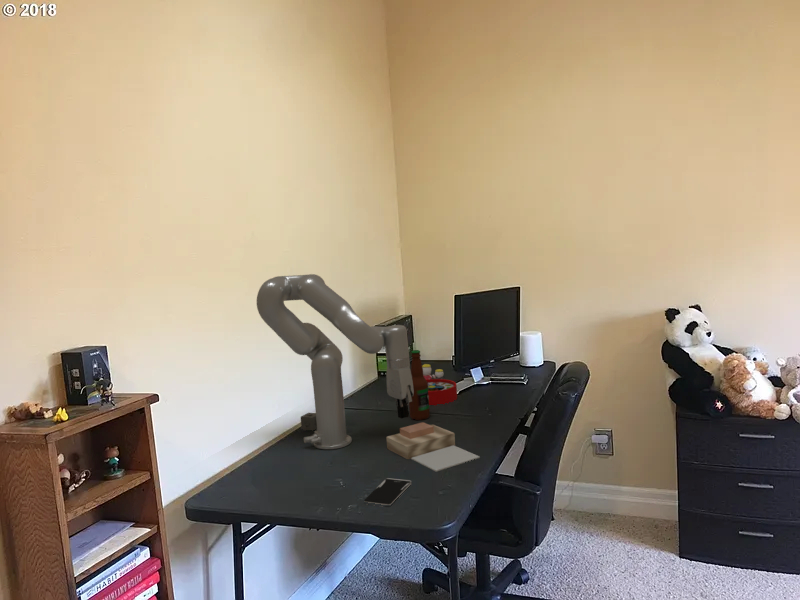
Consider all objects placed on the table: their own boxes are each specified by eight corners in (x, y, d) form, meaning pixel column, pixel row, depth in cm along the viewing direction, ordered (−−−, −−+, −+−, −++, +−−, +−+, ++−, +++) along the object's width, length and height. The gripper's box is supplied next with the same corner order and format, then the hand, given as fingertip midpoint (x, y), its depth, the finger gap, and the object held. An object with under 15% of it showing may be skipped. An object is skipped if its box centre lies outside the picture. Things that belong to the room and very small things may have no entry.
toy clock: (401, 391, 247) (413, 378, 266) (402, 406, 247) (414, 392, 266) (451, 391, 241) (460, 378, 261) (452, 406, 242) (460, 392, 261)
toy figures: (446, 381, 280) (445, 363, 279) (443, 384, 276) (442, 365, 275) (421, 380, 284) (420, 362, 283) (418, 383, 280) (416, 365, 279)
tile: (410, 439, 195) (409, 432, 195) (400, 434, 201) (399, 428, 200) (433, 432, 200) (433, 426, 200) (423, 428, 205) (422, 422, 205)
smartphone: (362, 501, 161) (386, 477, 174) (363, 506, 161) (387, 482, 175) (390, 504, 158) (412, 480, 171) (390, 509, 158) (412, 485, 172)
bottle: (426, 421, 225) (422, 352, 222) (407, 420, 228) (403, 352, 225) (432, 414, 232) (428, 348, 229) (413, 414, 235) (409, 348, 232)
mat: (436, 471, 178) (436, 470, 178) (411, 459, 189) (411, 457, 189) (479, 457, 187) (479, 456, 187) (453, 446, 198) (453, 445, 198)
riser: (407, 459, 189) (406, 446, 189) (387, 448, 200) (386, 436, 199) (455, 445, 199) (454, 433, 198) (433, 436, 209) (432, 424, 208)
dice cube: (301, 430, 225) (300, 416, 224) (309, 425, 229) (308, 412, 228) (313, 431, 222) (312, 417, 222) (321, 427, 227) (319, 413, 226)
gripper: (377, 362, 210) (382, 415, 212) (400, 368, 197) (406, 424, 199) (396, 358, 214) (401, 410, 216) (420, 363, 201) (425, 419, 203)
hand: (403, 417), depth 208 cm, fingers closed
